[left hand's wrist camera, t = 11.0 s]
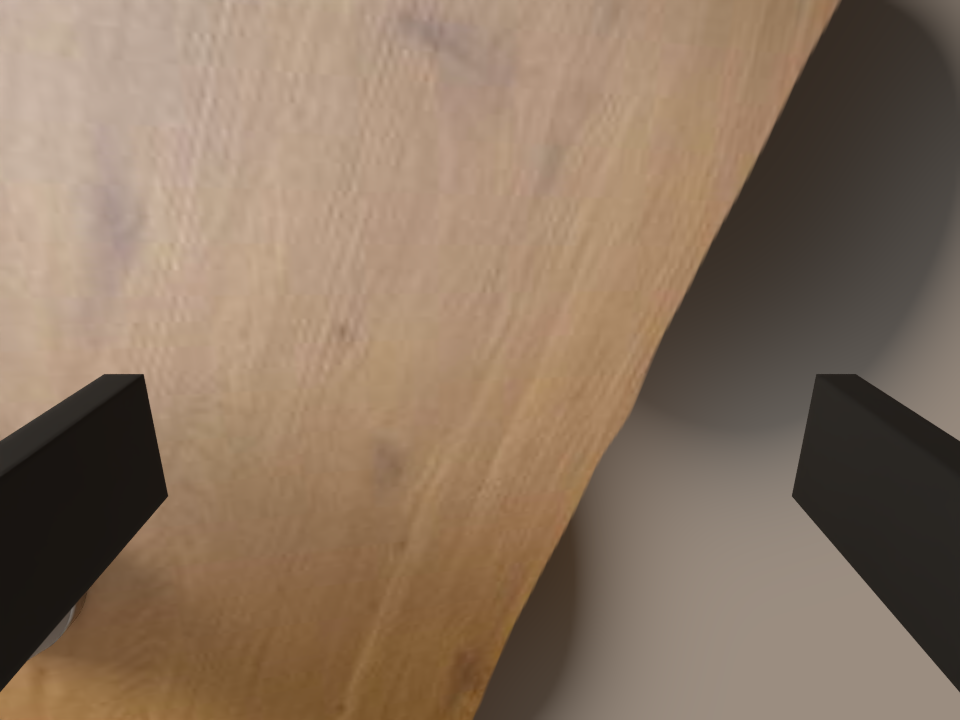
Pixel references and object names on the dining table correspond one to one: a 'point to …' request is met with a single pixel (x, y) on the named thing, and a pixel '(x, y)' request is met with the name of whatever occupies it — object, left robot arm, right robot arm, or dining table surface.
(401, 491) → the dining table surface
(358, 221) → the dining table surface
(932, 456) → the left robot arm
